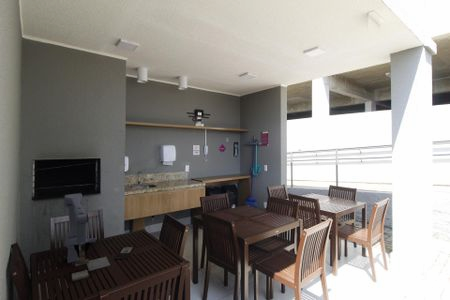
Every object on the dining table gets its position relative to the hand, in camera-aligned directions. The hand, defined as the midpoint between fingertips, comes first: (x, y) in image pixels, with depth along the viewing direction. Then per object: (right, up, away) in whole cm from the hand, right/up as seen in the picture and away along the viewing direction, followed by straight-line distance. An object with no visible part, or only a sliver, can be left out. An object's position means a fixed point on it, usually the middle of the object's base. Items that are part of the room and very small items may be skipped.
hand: (82, 256), depth 148 cm
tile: (0, -10, -2) cm, 10 cm away
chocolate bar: (+16, -10, +25) cm, 31 cm away
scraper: (0, -4, 0) cm, 4 cm away
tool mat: (+4, -10, +10) cm, 15 cm away
